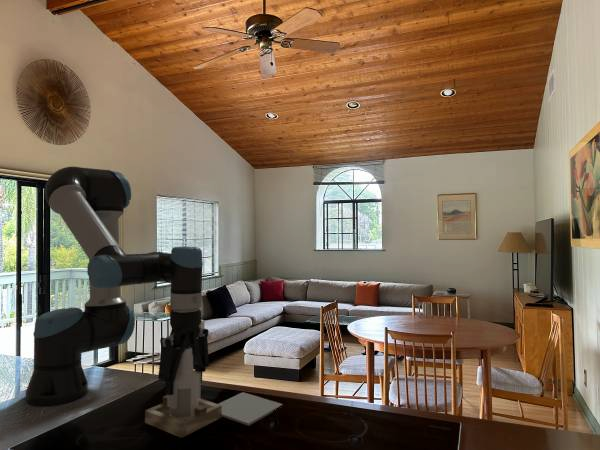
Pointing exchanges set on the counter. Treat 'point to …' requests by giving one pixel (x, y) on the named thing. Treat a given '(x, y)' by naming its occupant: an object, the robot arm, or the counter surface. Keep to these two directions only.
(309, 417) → the counter surface
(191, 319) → the robot arm
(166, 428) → the wooden square frame
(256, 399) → the mat
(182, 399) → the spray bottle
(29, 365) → the counter surface
